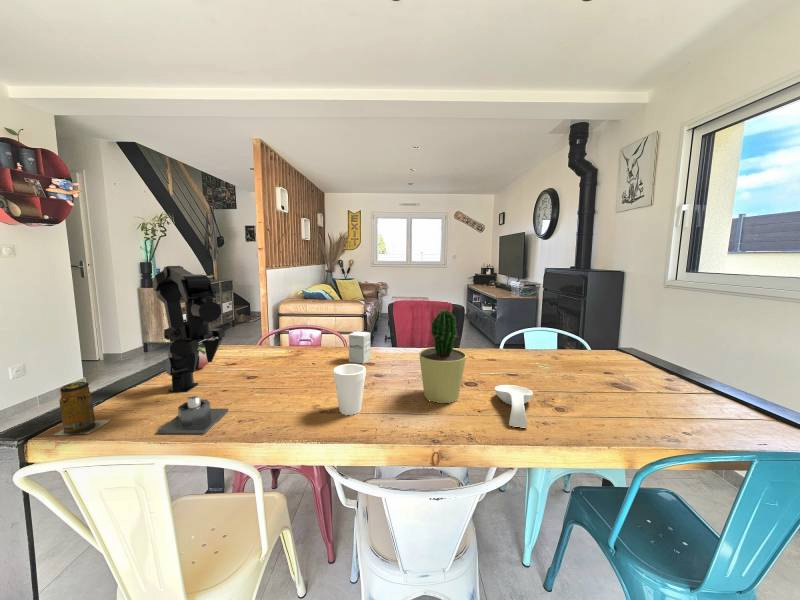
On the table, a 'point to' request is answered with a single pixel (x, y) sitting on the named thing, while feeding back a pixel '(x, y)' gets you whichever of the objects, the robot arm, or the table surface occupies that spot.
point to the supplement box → (359, 347)
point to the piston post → (199, 428)
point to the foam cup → (349, 387)
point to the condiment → (78, 410)
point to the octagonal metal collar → (194, 413)
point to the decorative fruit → (202, 357)
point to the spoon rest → (515, 402)
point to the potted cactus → (442, 361)
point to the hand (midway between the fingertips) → (201, 367)
